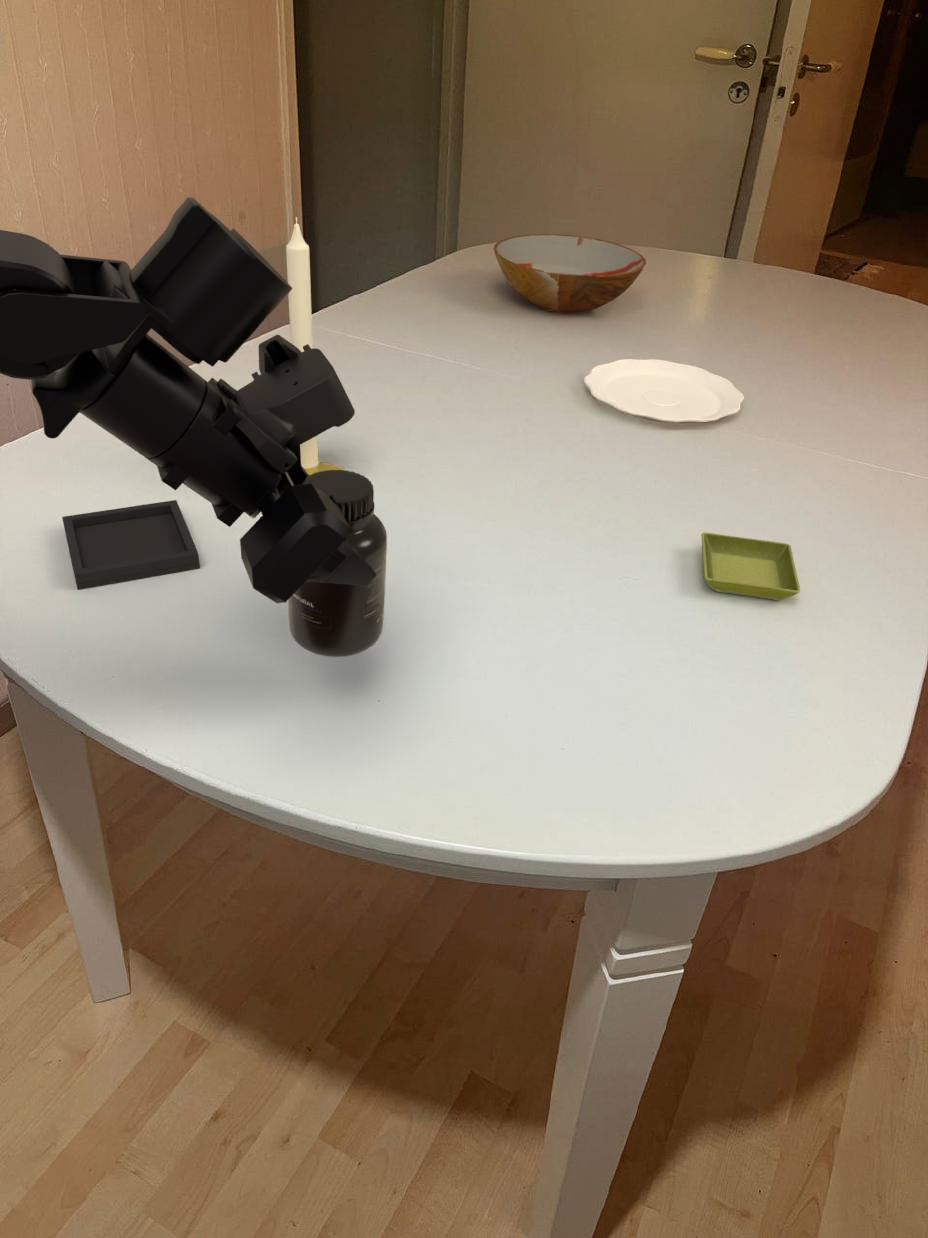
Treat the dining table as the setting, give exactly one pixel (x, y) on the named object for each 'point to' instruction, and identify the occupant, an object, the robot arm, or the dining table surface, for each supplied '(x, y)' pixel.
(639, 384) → the plate
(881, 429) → the dining table surface
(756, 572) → the olive green square dish
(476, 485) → the dining table surface
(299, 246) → the candle
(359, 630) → the supplement bottle
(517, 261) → the bowl
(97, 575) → the dock pad
